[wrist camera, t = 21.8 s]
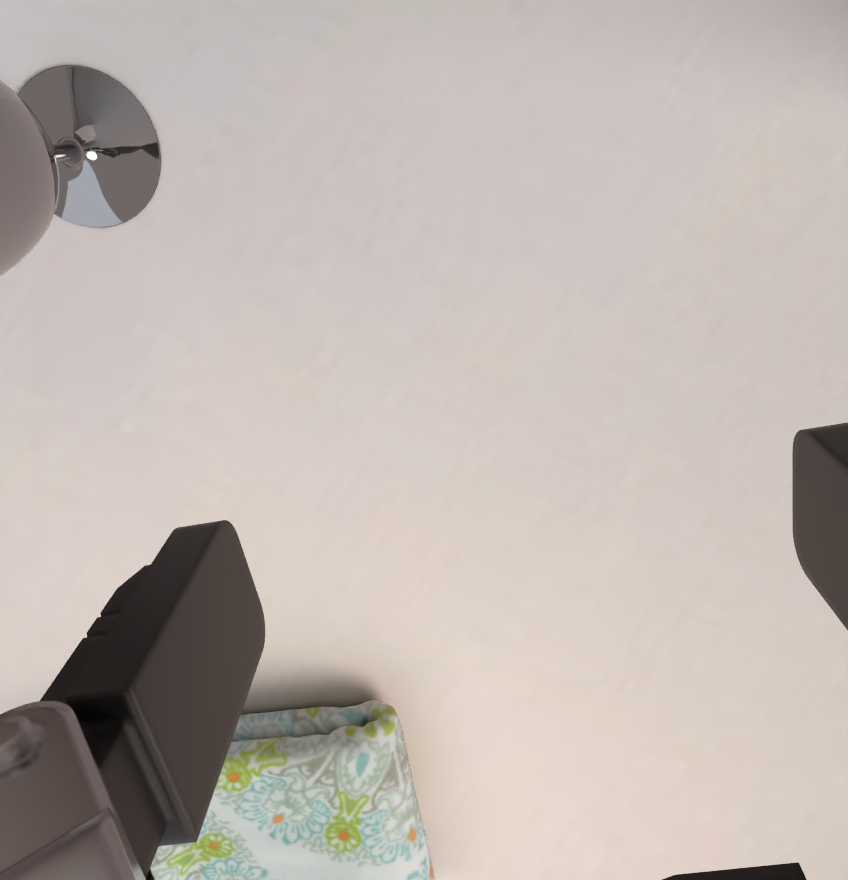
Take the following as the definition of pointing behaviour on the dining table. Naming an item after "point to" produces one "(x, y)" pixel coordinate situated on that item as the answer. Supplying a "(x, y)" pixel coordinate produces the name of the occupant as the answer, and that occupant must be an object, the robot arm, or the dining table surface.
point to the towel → (309, 802)
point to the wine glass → (71, 156)
